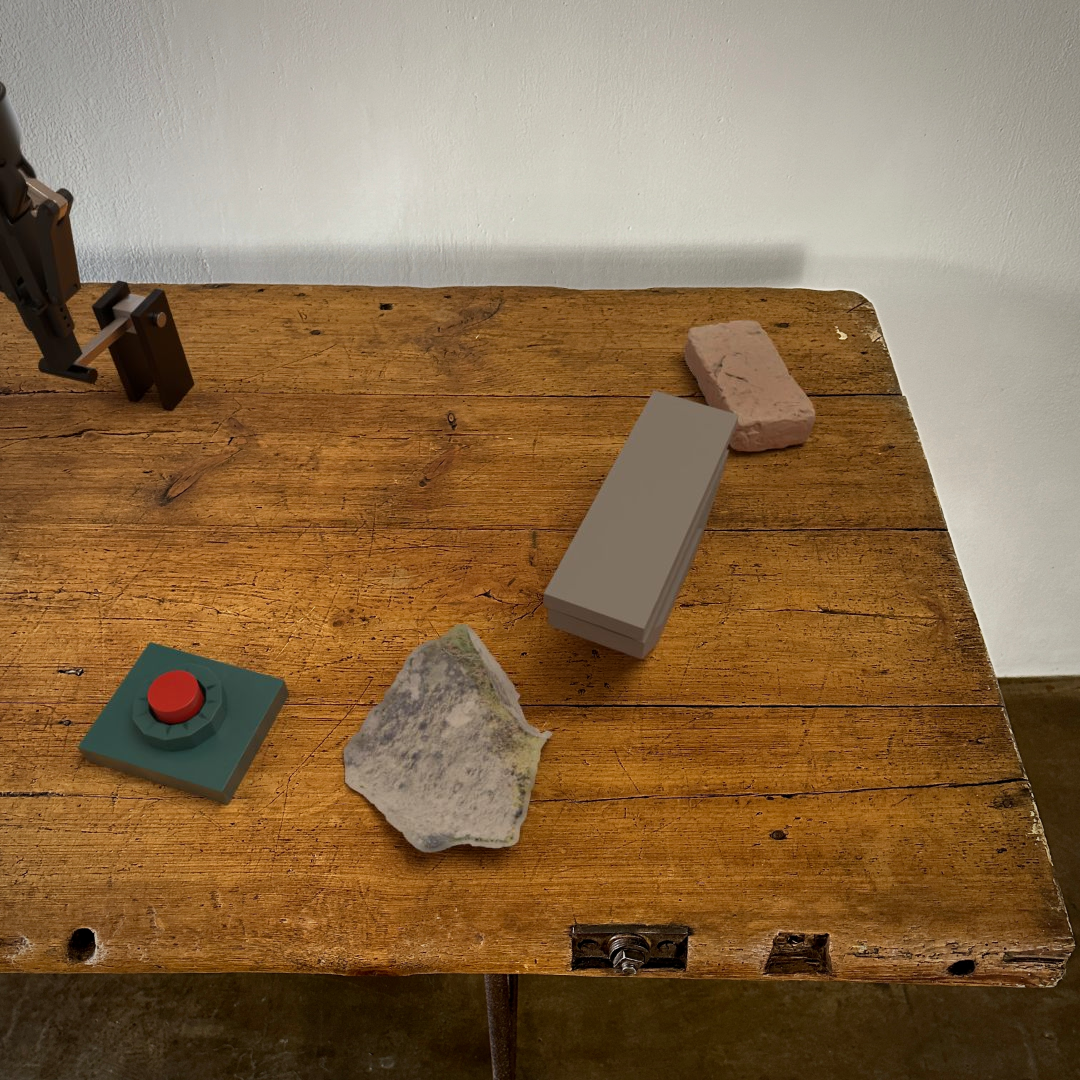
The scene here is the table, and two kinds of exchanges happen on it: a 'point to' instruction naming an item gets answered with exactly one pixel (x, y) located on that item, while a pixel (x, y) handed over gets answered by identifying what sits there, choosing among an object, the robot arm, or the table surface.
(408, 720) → the rock fragment
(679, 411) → the sharpening stone
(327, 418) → the table surface
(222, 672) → the control block
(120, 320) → the lever
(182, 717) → the button
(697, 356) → the brick
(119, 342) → the bracket
